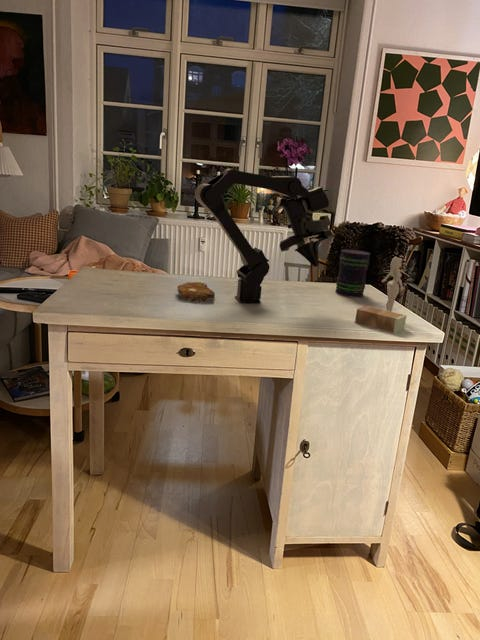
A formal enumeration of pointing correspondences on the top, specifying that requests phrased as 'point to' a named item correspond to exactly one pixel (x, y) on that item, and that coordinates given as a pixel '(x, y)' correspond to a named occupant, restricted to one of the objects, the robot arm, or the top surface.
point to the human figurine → (393, 282)
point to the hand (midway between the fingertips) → (316, 266)
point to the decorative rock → (195, 291)
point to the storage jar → (352, 273)
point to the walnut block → (380, 319)
